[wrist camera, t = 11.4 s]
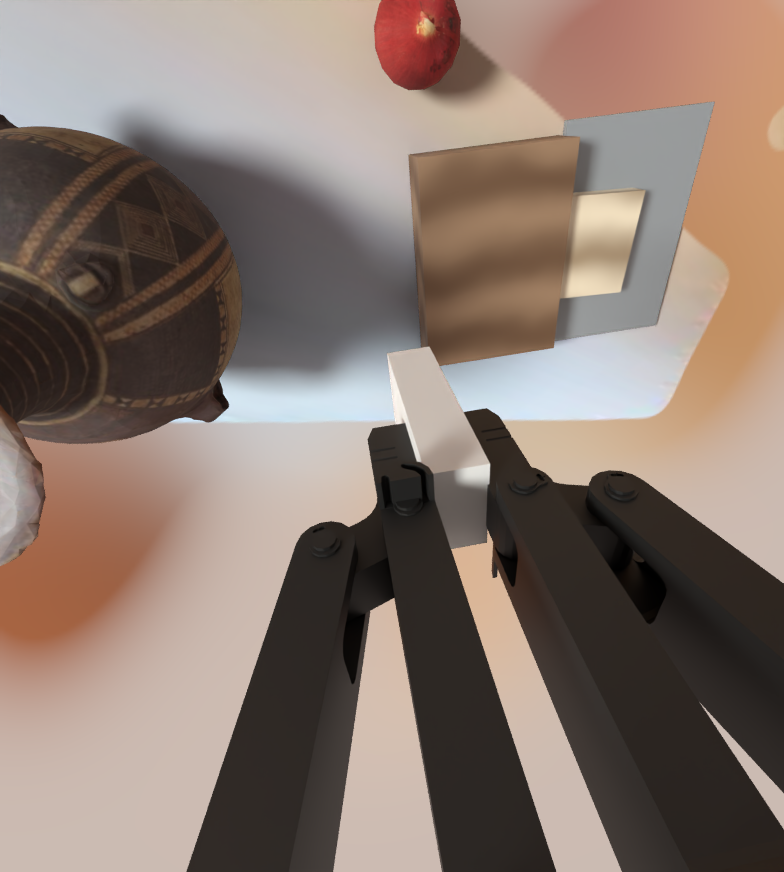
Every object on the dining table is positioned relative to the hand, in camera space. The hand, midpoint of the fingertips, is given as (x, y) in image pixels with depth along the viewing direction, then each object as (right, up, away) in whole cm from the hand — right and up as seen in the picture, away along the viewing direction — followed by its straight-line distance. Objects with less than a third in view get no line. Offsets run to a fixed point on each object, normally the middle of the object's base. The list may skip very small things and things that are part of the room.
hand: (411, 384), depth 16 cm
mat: (+21, +18, +28) cm, 39 cm away
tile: (+18, +17, +27) cm, 37 cm away
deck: (+8, +16, +27) cm, 32 cm away
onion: (+1, +28, +17) cm, 33 cm away
